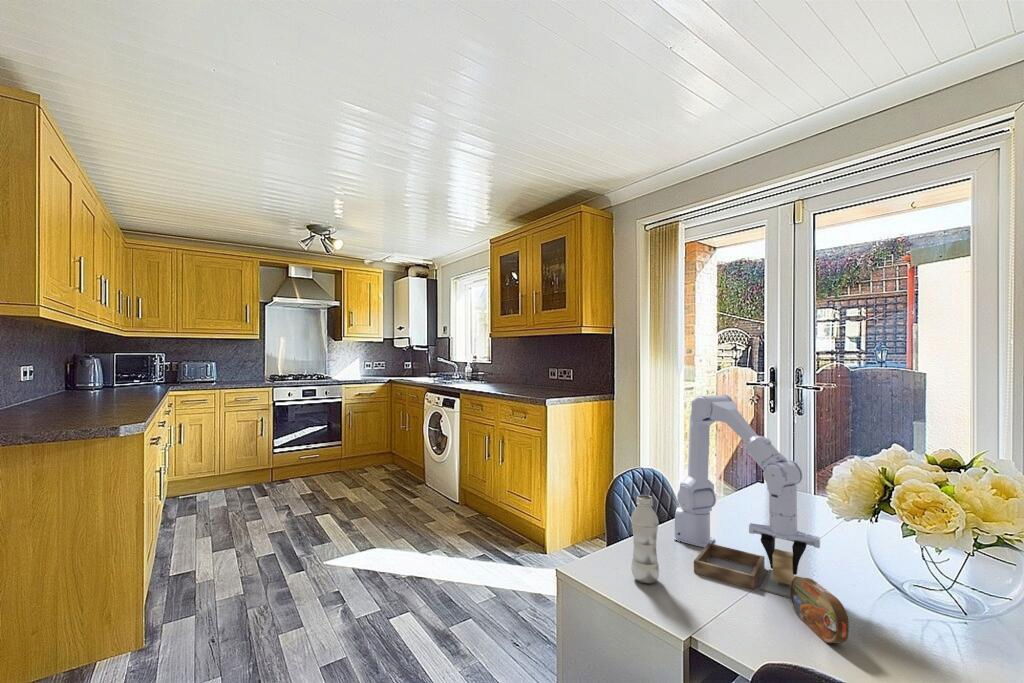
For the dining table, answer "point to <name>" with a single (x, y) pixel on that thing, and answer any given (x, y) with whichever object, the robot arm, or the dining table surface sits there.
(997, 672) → the dining table surface
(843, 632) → the tin
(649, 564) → the plastic bottle
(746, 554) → the frame box
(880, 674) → the dining table surface
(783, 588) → the mat
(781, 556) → the oak block
